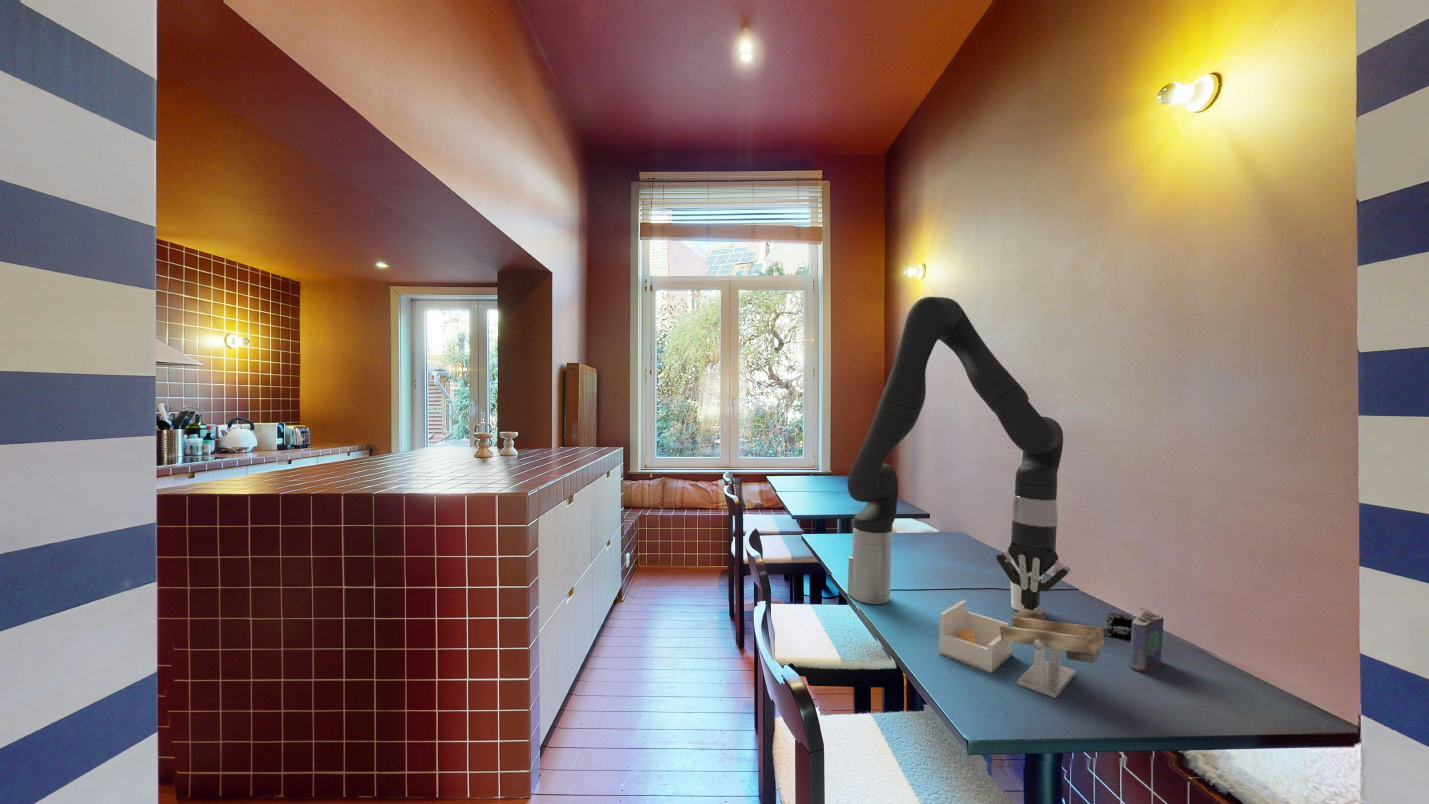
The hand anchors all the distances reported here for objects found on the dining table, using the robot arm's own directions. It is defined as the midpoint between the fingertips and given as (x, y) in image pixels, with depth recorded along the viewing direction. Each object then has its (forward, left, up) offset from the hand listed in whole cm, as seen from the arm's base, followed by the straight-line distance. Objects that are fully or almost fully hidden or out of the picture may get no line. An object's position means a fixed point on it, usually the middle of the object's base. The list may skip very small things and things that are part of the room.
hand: (1029, 608), depth 109 cm
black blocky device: (+10, +27, -10) cm, 31 cm away
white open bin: (-7, -7, -10) cm, 14 cm away
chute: (+6, -4, -4) cm, 8 cm away
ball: (-9, -7, -7) cm, 13 cm away
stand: (+5, -7, -10) cm, 13 cm away
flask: (+16, +14, -10) cm, 24 cm away
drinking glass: (-9, +26, -10) cm, 30 cm away
